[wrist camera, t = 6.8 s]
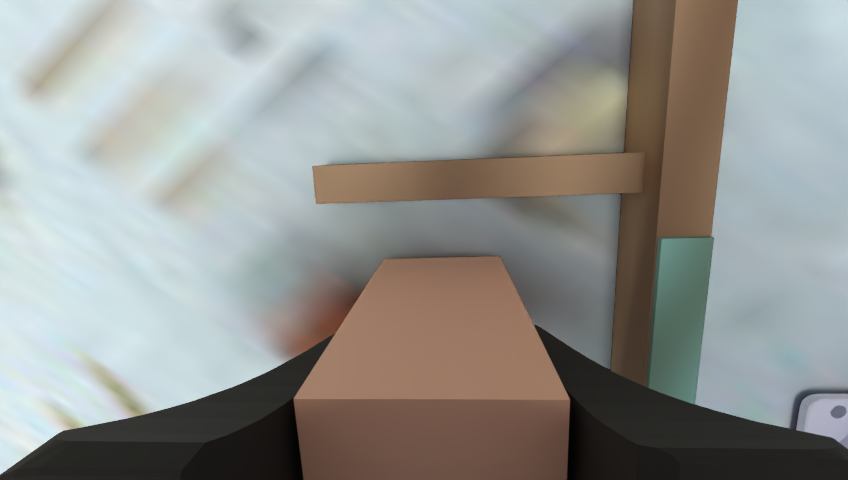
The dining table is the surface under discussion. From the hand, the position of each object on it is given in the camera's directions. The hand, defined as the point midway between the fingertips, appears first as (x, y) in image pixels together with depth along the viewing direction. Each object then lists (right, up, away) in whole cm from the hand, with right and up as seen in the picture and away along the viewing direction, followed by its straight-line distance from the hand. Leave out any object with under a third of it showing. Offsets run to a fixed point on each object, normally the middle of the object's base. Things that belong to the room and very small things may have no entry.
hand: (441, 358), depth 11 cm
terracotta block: (0, +1, +3) cm, 3 cm away
